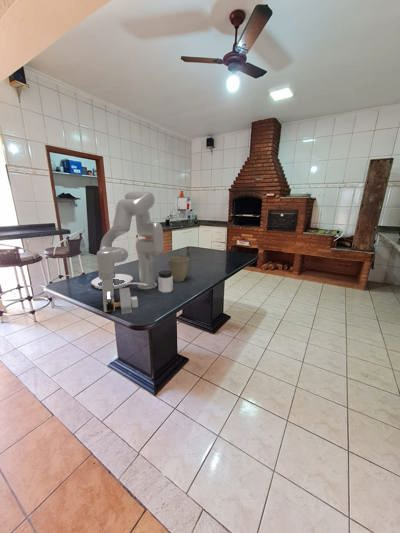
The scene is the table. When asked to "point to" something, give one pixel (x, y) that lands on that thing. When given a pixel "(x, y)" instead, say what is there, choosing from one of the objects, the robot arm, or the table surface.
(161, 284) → the jar
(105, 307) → the block ended dumbbell
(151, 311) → the table surface
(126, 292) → the block
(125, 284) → the pan
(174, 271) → the plant pot
